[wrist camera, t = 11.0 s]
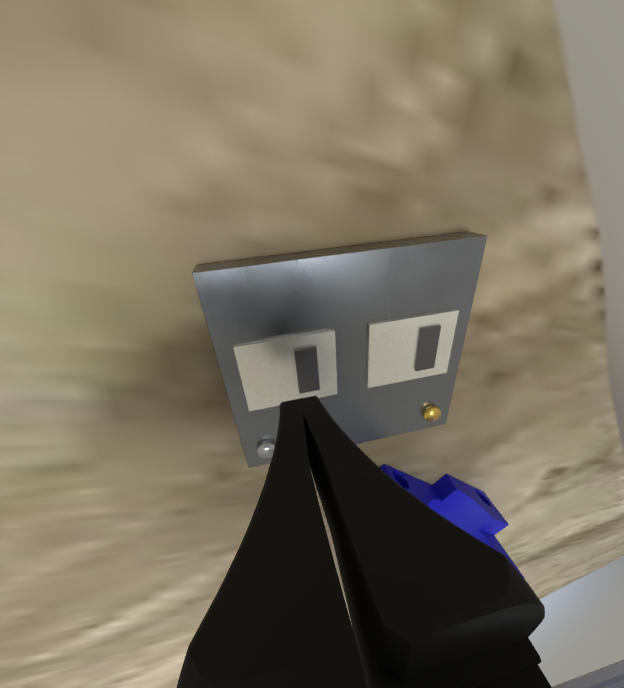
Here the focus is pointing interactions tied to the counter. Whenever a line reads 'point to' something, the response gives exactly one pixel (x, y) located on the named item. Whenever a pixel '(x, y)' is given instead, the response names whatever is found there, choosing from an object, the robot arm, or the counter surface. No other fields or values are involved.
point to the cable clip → (457, 505)
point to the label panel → (342, 333)
